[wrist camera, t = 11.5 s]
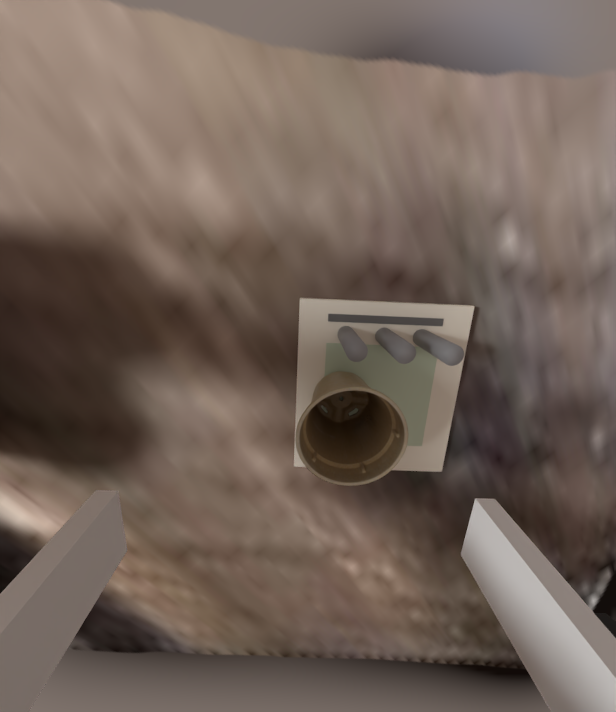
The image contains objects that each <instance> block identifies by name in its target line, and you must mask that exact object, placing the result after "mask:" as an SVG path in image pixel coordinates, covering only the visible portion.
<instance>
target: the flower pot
mask: <svg viewBox="0 0 616 712" xmlns="http://www.w3.org/2000/svg"><path fill="white" fill-rule="evenodd" d="M340 397H343V400H340ZM321 405H323V406H324V407H325V408H326V410H327V411H328V412H327V413H326V412H325V411H324V410H323V409H322V408H321ZM355 408H357V409H358V412H357V413H355V414H353V415H350V416H349V413H350V412H351V411H353V410H354V409H355ZM295 440H296V448H297V452H298V454H299V457H300V459H301V461H302V462H303V464H304V465H305V466H306V467H307V469H308V470H309V471H311V472H312V473H313V474H314V475H315V476H317V477H319V478H320V479H322V480H324V481H326V482H329V483H332V484H336V485H342V486H357V485H364V484H368V483H370V482H373V481H376V480H378V479H380V478H382V477H383V476H385V475H386V474H387V473H389V472H390V471H391V470H392V469H393V468H394V467H395V466H396V465H397V464H398V462H399V461H400V459H401V458H402V456H403V455H404V453H405V451H406V447H407V443H408V425H407V422H406V419H405V417H404V415H403V413H402V411H401V410H400V408H399V407H398V406H397V404H396V403H395V402H394V401H393V400H392V399H390V398H389V397H388V396H386V395H385V394H383V393H381V392H379V391H377V390H374V389H371V388H370V387H369V386H368V385H367V384H366V383H365V382H364V381H363V379H362V378H360V377H359V376H358V375H356V374H354V373H351V372H344V371H337V372H333V373H330V374H328V375H326V376H325V377H323V378H322V379H321V380H320V381H319V382H318V384H317V385H316V387H315V390H314V393H313V397H312V401H311V404H310V405H309V406H308V407H307V408H306V409H305V411H304V412H303V414H302V416H301V418H300V420H299V422H298V425H297V429H296V438H295Z"/></svg>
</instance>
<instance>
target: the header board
mask: <svg viewBox="0 0 616 712" xmlns="http://www.w3.org/2000/svg"><path fill="white" fill-rule="evenodd" d="M474 307H475V306H471V305H456V304H433V303H410V302H388V301H365V300H343V299H320V298H300V307H299V336H298V364H297V392H296V420H295V438H296V429H297V425H298V422H299V420H300V418H301V416H302V414H303V412H304V411H305V409H306V408H307V407H308V406H309V405H310V404H311V401H312V397H313V393H314V390H315V387H316V385H317V384H318V382H319V381H320V380H321V379H322V378H323V377H325V376H326V375H328V374H330V373H333V372H337V371H344V372H351V373H354V374H356V375H358V376H359V377H360V378H362V379H363V381H364V382H365V383H366V384H367V385H368V386H369V387H370V388H371V389H374V390H377V391H379V392H381V393H383V394H385V395H386V396H388V397H389V398H390V399H392V400H393V401H394V402H395V403H396V404H397V406H398V407H399V408H400V410H401V411H402V413H403V415H404V417H405V419H406V422H407V425H408V443H407V447H406V451H405V453H404V455H403V456H402V458H401V459H400V461H399V462H398V464H397V465H396V466H395V467H394V468H393V469H392V470H402V471H430V472H442V468H443V463H444V458H445V453H446V448H447V443H448V438H449V433H450V428H451V423H452V418H453V413H454V408H455V403H456V398H457V393H458V388H459V382H460V377H461V372H462V367H463V362H464V357H465V352H466V347H467V342H468V337H469V332H470V327H471V322H472V317H473V312H474ZM340 400H343V397H340ZM321 408H322V409H323V410H324V411H325V412H326V413H327V412H328V411H327V410H326V408H325V407H324V406H323V405H321ZM357 412H358V409H357V408H355V409H354V410H353V411H351V412H350V413H349V416H350V415H353V414H355V413H357ZM294 467H306V466H305V465H304V464H303V462H302V461H301V459H300V457H299V454H298V452H297V448H296V440H295V448H294Z"/></svg>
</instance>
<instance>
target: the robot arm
mask: <svg viewBox="0 0 616 712" xmlns="http://www.w3.org/2000/svg"><path fill="white" fill-rule="evenodd" d="M126 552H127V545H126V539H125V532H124V526H123V519H122V512H121V506H120V499H119V492H118V491H111V490H96V491H95V492H94V493H93V494H92V495H91V496H90V497H89V498H88V499H87V501H86V502H85V503H84V504H83V505H82V506H81V507H80V508H79V509H78V510H77V511H76V512H75V514H74V515H73V516H72V517H71V518H70V519H69V520H68V521H67V522H66V523H65V524H64V525H63V527H62V528H61V529H60V530H59V531H58V532H57V533H56V534H55V535H54V536H53V537H52V538H51V540H50V541H49V542H48V543H47V544H46V545H45V546H44V547H43V548H42V549H41V550H40V552H39V553H38V554H37V555H36V556H35V557H34V558H33V559H32V560H31V561H30V562H29V563H28V565H27V566H26V567H25V568H24V569H23V570H22V571H21V572H20V573H19V574H18V575H17V576H16V578H15V579H14V580H13V581H12V582H11V583H10V584H9V585H8V586H7V587H6V588H5V589H4V591H3V592H2V593H1V594H0V712H29V710H30V709H31V707H32V705H33V704H34V702H35V701H36V699H37V697H38V696H39V694H40V692H41V691H42V689H43V687H44V686H45V684H46V682H47V681H48V679H49V678H50V676H51V674H52V673H53V671H54V669H55V668H56V666H57V665H58V663H59V661H60V660H61V658H62V656H63V655H64V653H65V651H66V650H67V648H68V647H69V645H70V643H71V642H72V640H73V638H74V637H75V635H76V633H77V632H78V630H79V629H80V627H81V625H82V624H83V622H84V620H85V619H86V617H87V615H88V614H89V612H90V611H91V609H92V607H93V606H94V604H95V602H96V601H97V599H98V597H99V596H100V594H101V593H102V591H103V589H104V588H105V586H106V584H107V583H108V581H109V579H110V578H111V576H112V575H113V573H114V571H115V570H116V568H117V566H118V565H119V563H120V561H121V560H122V558H123V557H124V555H125V553H126ZM461 556H462V558H463V560H464V561H465V563H466V565H467V566H468V568H469V570H470V572H471V573H472V575H473V577H474V579H475V580H476V582H477V584H478V586H479V587H480V589H481V591H482V593H483V594H484V596H485V598H486V600H487V601H488V603H489V605H490V607H491V608H492V610H493V612H494V613H495V615H496V617H497V619H498V620H499V622H500V624H501V626H502V627H503V629H504V631H505V633H506V634H507V636H508V638H509V640H510V641H511V643H512V645H513V647H514V648H515V650H516V652H517V654H518V655H519V657H520V659H521V660H522V662H523V664H524V666H525V667H526V669H527V671H528V672H529V674H530V676H531V678H532V680H533V681H534V683H535V684H536V687H537V688H538V690H539V692H540V693H541V695H542V697H543V699H544V701H545V702H546V704H547V706H548V707H549V709H550V711H551V712H616V621H615V620H613V619H612V618H611V617H610V616H608V615H607V614H606V613H595V614H594V613H593V612H592V610H591V609H590V608H589V607H588V606H587V605H586V603H585V602H584V601H583V600H582V599H581V598H580V597H579V595H578V594H577V593H576V592H575V591H574V590H573V588H572V587H571V586H570V585H569V584H568V583H567V582H566V580H565V579H564V578H563V577H562V576H561V575H560V573H559V572H558V571H557V570H556V569H555V568H554V567H553V565H552V564H551V563H550V562H549V561H548V560H547V558H546V557H545V556H544V555H543V554H542V553H541V552H540V550H539V549H538V548H537V547H536V546H535V545H534V543H533V542H532V541H531V540H530V539H529V538H528V536H527V535H526V534H525V533H524V532H523V531H522V530H521V528H520V527H519V526H518V525H517V524H516V523H515V521H514V520H513V519H512V518H511V517H510V516H509V515H508V513H507V512H506V511H505V510H504V509H503V508H502V506H501V505H500V504H499V503H498V502H497V501H496V500H495V499H483V498H475V501H474V505H473V509H472V513H471V517H470V520H469V524H468V528H467V532H466V536H465V539H464V543H463V547H462V551H461Z"/></svg>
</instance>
